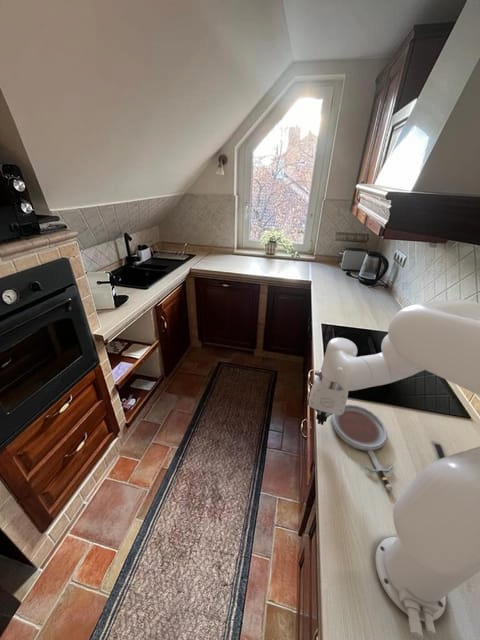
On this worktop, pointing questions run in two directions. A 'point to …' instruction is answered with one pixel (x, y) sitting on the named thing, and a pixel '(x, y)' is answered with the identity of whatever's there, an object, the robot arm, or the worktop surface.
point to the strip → (439, 451)
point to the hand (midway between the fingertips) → (320, 420)
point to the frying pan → (362, 433)
